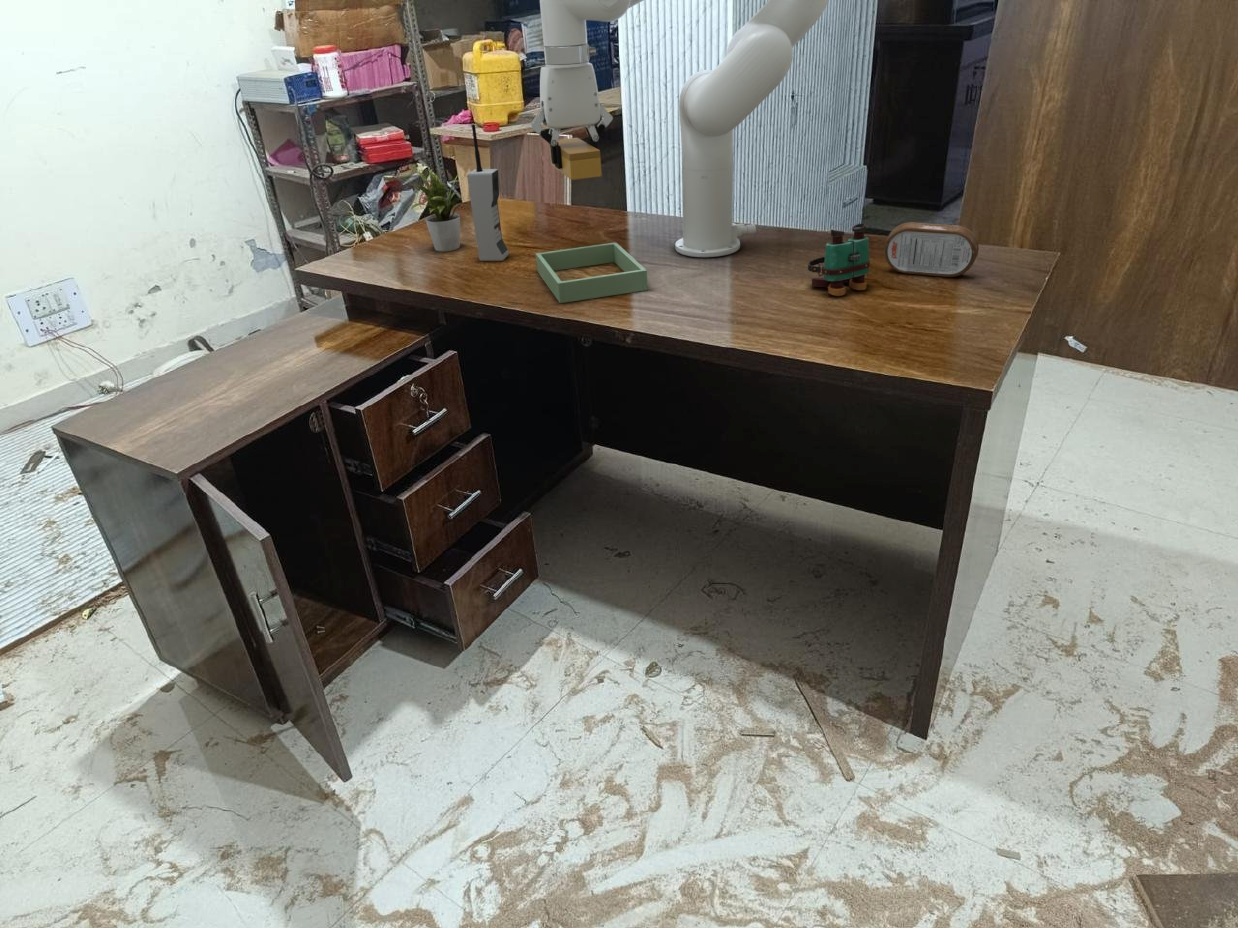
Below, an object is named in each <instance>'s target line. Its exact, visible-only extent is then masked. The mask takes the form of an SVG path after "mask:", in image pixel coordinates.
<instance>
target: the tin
mask: <svg viewBox="0 0 1238 928" xmlns="http://www.w3.org/2000/svg"><path fill="white" fill-rule="evenodd" d="M979 247H980V246H979V241H978V239H977V237H976V235H975V233H973V232H972V231H971V230H970V229H968V228H966V227H964V226H961V225H954V224H953V225H952V224H939V223H926V222H925V223H924V222H916V221H915V222H914V221H913V222H912V221H909V222H905V223H901V224H899V225H897V226H896V227H894V228H893V229H892V230H891V231H890V232H889V234H888V236H887V238H886V241H885V243H884V249H883V253H884V258H885V261H886V262H887V264H888V266H889V267H891V269H893V270H894V271H897V272H899V273H902V274H906V275H907V274H908V275H909V274H910V275H919V276H928V277H929V276H931V277H941V278H955V277H959V276H961V275H964V274H965V273H967V272H968V271H969V270H970V269H971V268H972V266H973V265H974V263H975V261H976V260H977V257H978V255H979V249H980V248H979Z"/></svg>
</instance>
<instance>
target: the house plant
mask: <svg viewBox="0 0 1238 928" xmlns="http://www.w3.org/2000/svg"><path fill="white" fill-rule="evenodd" d="M441 167H442V166H440V168H439V169H438V172H437V173H434V172H433V171H432V169H431V168H430V169H429V181H430V183H429V181H428V179H427V178H426V176H425V174H424V173H422V172H421V171H418V170H415V169H414V170H413V171H414V172H416V173H418V175H419V176H420V177H421V179H422V181H423V184H424V185H425V186H424V185H419V184H417V183H416V182H414V180H413V181H412V180H410V179H407V178H402V180H405V181H409V182H412V183H414V185H413V184H412V183H410V185H411V186H412V187H415V188H416V190H419V191H420V193H421V194H422V195H423V196H424V197H422V200H424V201H426V202H427V203H428V204H425V203H417V202H416V201H412V200H410V202H411V203H415V204H413V205H412V206H411V208H410V210H409V211H410V212H411V211H412V210H413V209H414V208H416V207H418V206H419V207H420V208H422V209H424V210H425V208H424V207H422V206H426V207H428V210H429V211H428V210H426V212H427V213H429V214H430V215H429V216H427V217H426V218H425V223H426V227H427V229H428V233H429V236H430V238H431V241H432V245H433V247H434V250H435V251H437V252H450V251H451V252H452V251H455V250H458V249H459V248H460V247H461V215H460V214H458V213H455V212H456V210H457V209H458V208H459V207H460V206H461V205H462V204H463V205H464V204H466V203H469V202H470V201H469V202H468V201H463V202H460V203H459V204H458V205H457V206H456V207H455V205H456V203H457V202H458V201H460V200H462V199H464V198H463V197H455V198H453V197H454V195H455V194H456V193H459V191H456V187H457V186H455V187H454V185H455V183H456V181H457V179H458V176H459V174H457V175H456V177H455V178H454V180H453V182H452V185H451V187H450V190H449V192H448V195H447V188H446V182H441V179H440V170H441ZM464 178H467V175H466V176H464V177H463V179H464ZM418 187H419V188H418ZM469 204H470V203H469ZM454 207H455V208H454ZM453 208H454V209H453ZM452 210H453V211H452ZM432 212H433V213H434V214H432Z"/></svg>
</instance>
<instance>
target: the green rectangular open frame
mask: <svg viewBox="0 0 1238 928" xmlns="http://www.w3.org/2000/svg"><path fill="white" fill-rule="evenodd" d="M535 260H536V270H537V273H538V274H539V275H540V277H541V279H542V280H543V282H544V283H545V284H546V286H547V287H548V288H549V290H550V291H551V293H552V294H553V296H554V297H555V298H556V300H557V301H558V303H559V304H566V303H572V302H579V301H584V300H585V301H586V300H591V299H598V298H605V297H612V296H616V295H623V294H624V295H625V294H630V293H636V292H637V293H638V292H643V291H648V289H649V288H648V270H647V269H646V268H645V267H644V266H643V265H641V264H640V263H639V262H638V261H637V260H636V258H634V257H633V256H632V255H631V254H629V252H627V251H626V250H625V249H624V248H623V247H622V246H621V245H620V244H618V243H617V242H616V241H615V242H608V243H600V244H594V245H589V246H580V247H579V246H578V247H574V248H566V249H558V250H552V251H544V252H537V253H535ZM611 263H614V264H616V265H617V267H619V269H621V270H622V272H616V273H610V274H602V275H596V276H589V277H582V278H575V279H569V280H561V279H560V278H559V276H558V274H556V272H555V271H563V270H568V269H577V268H581V267H582V268H583V267H592V266H596V265H603V264H611Z"/></svg>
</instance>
